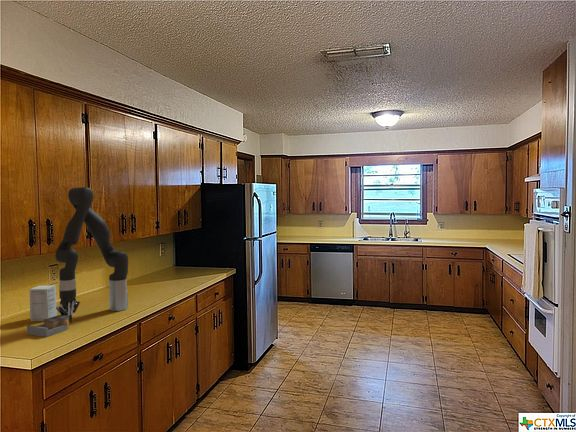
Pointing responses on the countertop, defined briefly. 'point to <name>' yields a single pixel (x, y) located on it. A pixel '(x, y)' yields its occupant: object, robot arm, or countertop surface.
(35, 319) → the supplement box
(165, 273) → the countertop surface
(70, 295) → the robot arm
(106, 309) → the countertop surface
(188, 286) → the countertop surface
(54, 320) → the grey block
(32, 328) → the bay
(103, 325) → the countertop surface
